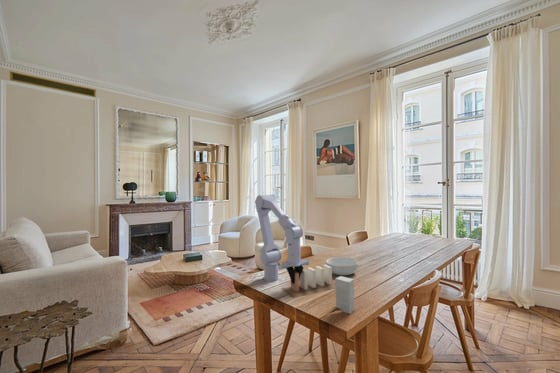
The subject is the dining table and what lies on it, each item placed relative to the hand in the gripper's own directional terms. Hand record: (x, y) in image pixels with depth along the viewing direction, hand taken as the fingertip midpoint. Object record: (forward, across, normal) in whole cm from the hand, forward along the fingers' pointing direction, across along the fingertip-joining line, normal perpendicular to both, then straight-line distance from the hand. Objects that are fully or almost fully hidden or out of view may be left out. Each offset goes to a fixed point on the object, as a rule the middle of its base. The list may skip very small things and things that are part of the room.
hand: (294, 282), depth 115 cm
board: (+4, +8, -2) cm, 9 cm away
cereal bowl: (+4, +34, +9) cm, 35 cm away
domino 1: (+3, +4, 0) cm, 5 cm away
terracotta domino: (+3, 0, 0) cm, 3 cm away
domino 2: (+3, +9, 0) cm, 10 cm away
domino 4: (+3, +18, 0) cm, 18 cm away
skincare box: (+4, +9, -24) cm, 26 cm away
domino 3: (+3, +14, 0) cm, 14 cm away
